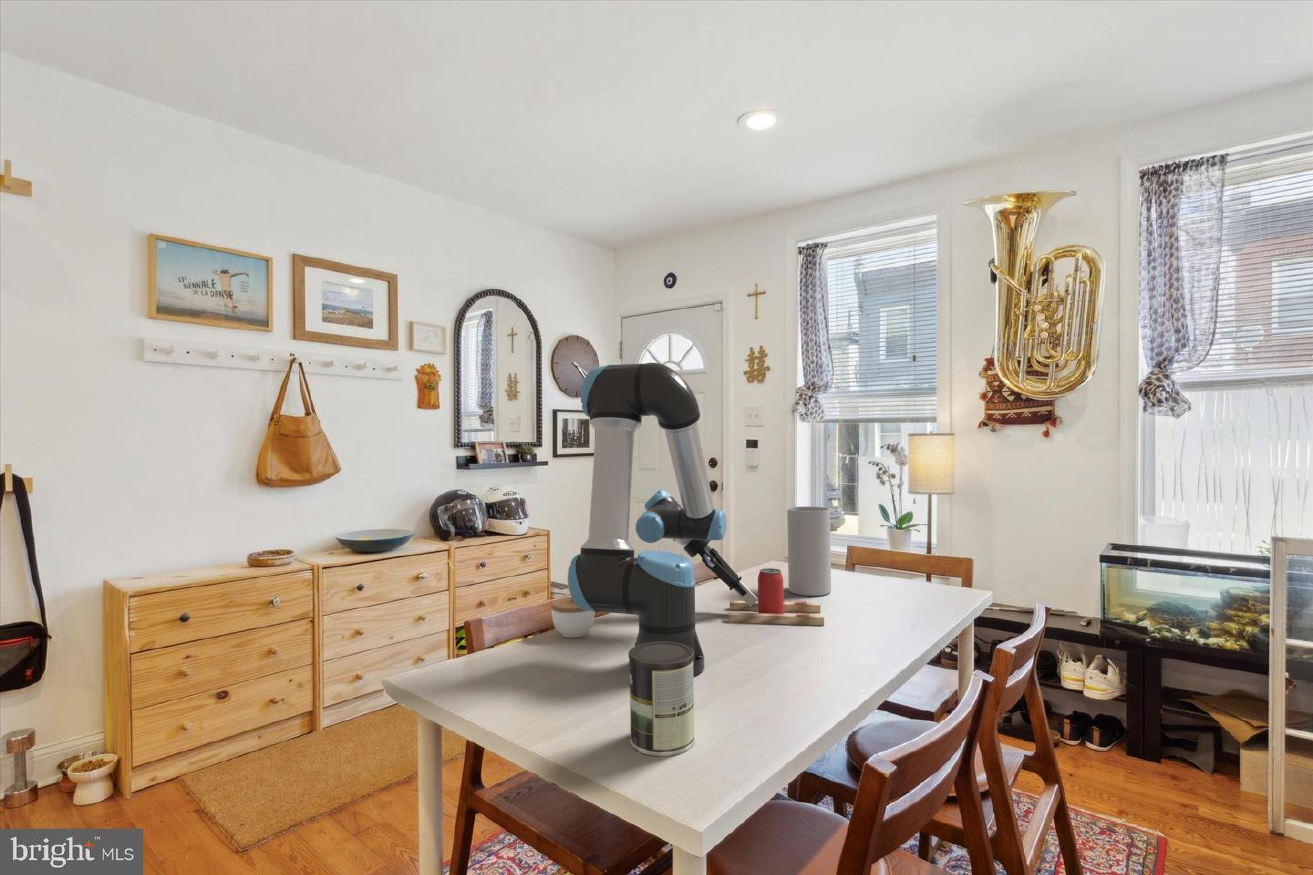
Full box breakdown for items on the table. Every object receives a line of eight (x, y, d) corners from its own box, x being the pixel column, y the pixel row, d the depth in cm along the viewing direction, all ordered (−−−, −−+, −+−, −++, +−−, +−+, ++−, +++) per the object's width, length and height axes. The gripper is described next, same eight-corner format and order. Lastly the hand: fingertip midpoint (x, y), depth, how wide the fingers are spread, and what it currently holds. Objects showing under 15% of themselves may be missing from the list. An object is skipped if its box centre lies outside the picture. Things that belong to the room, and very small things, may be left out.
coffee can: (620, 752, 97) (619, 659, 97) (641, 722, 107) (640, 638, 107) (686, 761, 94) (684, 665, 94) (701, 729, 104) (700, 643, 104)
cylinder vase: (815, 599, 184) (813, 512, 184) (780, 591, 193) (778, 509, 193) (839, 591, 192) (838, 508, 192) (804, 584, 201) (803, 505, 201)
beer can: (788, 616, 167) (788, 570, 167) (772, 621, 163) (771, 574, 163) (769, 611, 172) (768, 566, 172) (753, 615, 168) (752, 570, 168)
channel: (727, 622, 163) (726, 612, 163) (730, 607, 176) (730, 599, 176) (824, 625, 158) (823, 615, 158) (819, 610, 172) (819, 601, 172)
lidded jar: (574, 643, 148) (573, 603, 148) (542, 635, 154) (541, 596, 154) (604, 631, 157) (604, 593, 156) (573, 624, 163) (572, 587, 163)
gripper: (685, 543, 179) (744, 605, 177) (679, 551, 166) (743, 619, 164) (704, 524, 178) (764, 587, 176) (699, 532, 165) (764, 599, 163)
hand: (753, 602), depth 170 cm, fingers closed
